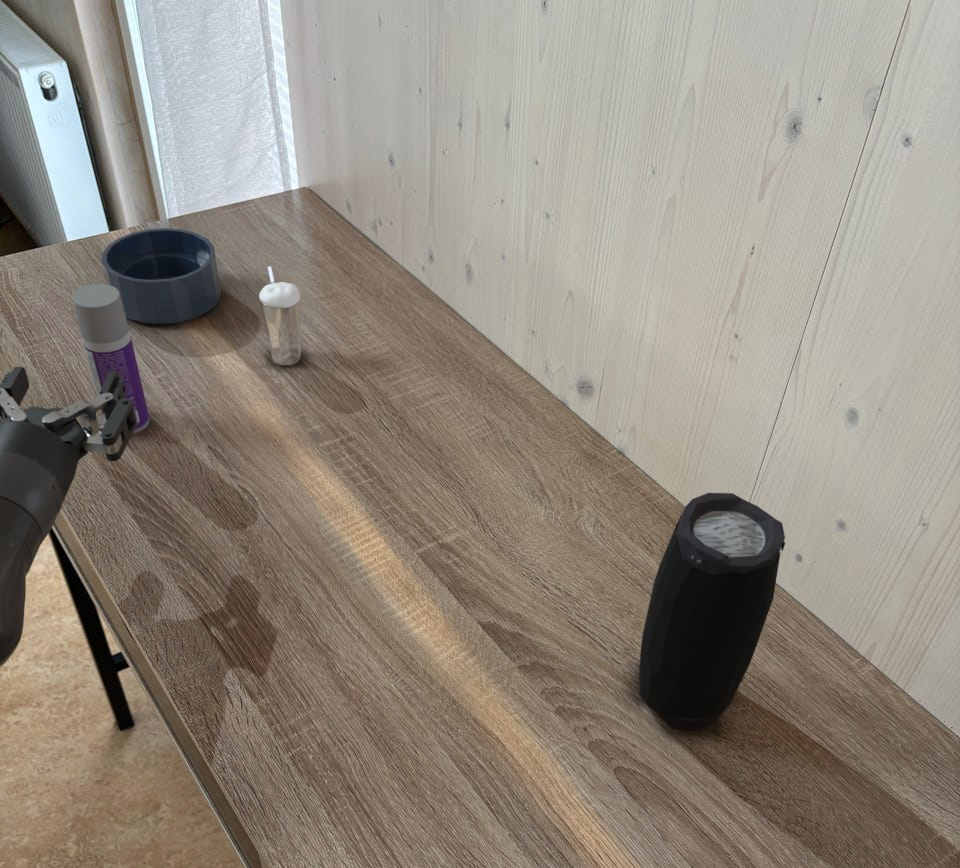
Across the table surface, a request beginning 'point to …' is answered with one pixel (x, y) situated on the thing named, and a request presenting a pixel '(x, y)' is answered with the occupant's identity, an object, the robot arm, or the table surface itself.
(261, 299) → the milkshake
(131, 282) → the bowl
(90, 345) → the container
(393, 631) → the table surface
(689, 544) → the portable speaker
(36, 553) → the robot arm
